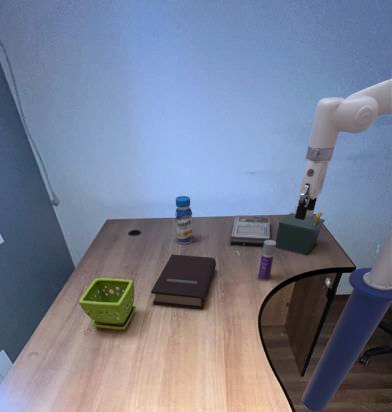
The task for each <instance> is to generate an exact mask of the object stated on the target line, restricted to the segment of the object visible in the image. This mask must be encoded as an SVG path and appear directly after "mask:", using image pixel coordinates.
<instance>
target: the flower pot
mask: <svg viewBox="0 0 392 412" xmlns="http://www.w3.org/2000/svg"><path fill="white" fill-rule="evenodd" d="M117 288H118V289H117ZM110 290H111V291H113V293H111V291H110ZM134 303H135V283H134V281H133V279H125V278H110V277H109V278H106V277H97V278H95V279H94V280H93V281H92V282H91V283H90V285H89V286H88V287H87V289H86V290H85V291H84V293H83V294H82V296H81V297H80V299H79V301H78V304H79V306H80V308H81V309H82V310H83V312H84V313H85V314H86V316H88V317H89V318H90V320H93V322H92V323H91V326H93V327H94V328H95V327H96V328H99V329H100V328H101V329H110V330H120V331H125V330H126V328H127V327H128V324H129V323H130V321H131V319H132V317H133V315H134V313H135V311H136V308H137V306H136V305H134Z"/></svg>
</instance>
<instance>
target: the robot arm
mask: <svg viewBox="0 0 392 412" xmlns="http://www.w3.org/2000/svg"><path fill="white" fill-rule="evenodd" d="M390 114H392V78H389V79H387V80H384V81H381V82H379V83H376V84H374V85H370V86H368V87H366V88H363V89H361V90H359V91H356V92H354V93H352V94H350V95H348V96H347V97H346V98H344V97H341V96H340V97H339V96H335V97H334V96H332V97H324V98H321V99H319V101H318V102H317V104H316V108H315V111H314V116H313V121H312V125H311V130H310V135H309V139H308V143H307V148H306V152H305V156H304V157H305V158H304V161H306V166H305V168H304V173H303V176H302V180H301V183H300V184H301V185H300V189H299V195H298V197H299V199H298V203H297V205H296V206H297V211H296V215H295V218H296V219H301V220H304V219H305V216H306V212H307V210H312V211H313V210H314V211H315V209H316V203H317V201H318V200H317V199H318V196H319V195H320V194H321V193H322V192H323V188H324V184H325V181H326V180H325V179H326V176H327V172H328V168H329V167H328V166H329V162H331V161H332V158H333V154H334V150H335V148H336V143H337V140H338V137H339V133H341V132H342V133H349V134H360V133H363V132H365V131H367V130H368V129H369V128H371V126H373V125H374V123H375V121H376V120H377V118H378V117H381V116H385V115H390ZM314 208H315V209H314ZM383 243H384V244H383V245H382V248H381V250H380V252H379V254H378V256H377V257H376V259H375V262H374V263H373V265H372V267H371V268H372V269H371V271H370V272H368V273H366V274H365V275H364V276H363V281H364V282H365V283H366V284H367V285H368V286H370V287H372V288H375V289H379V290H392V228H390V232H389V233H388V235H387V237H386V240H385V241H384V242H383Z"/></svg>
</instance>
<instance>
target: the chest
mask: <svg viewBox="0 0 392 412" xmlns="http://www.w3.org/2000/svg"><path fill="white" fill-rule="evenodd" d="M321 229H322V225H321V226H320V227H319V228H318V229H317V230H316V231H315V232H313V231H308V230H304V229H299V228H295V227H291V226H286V225H282V224H279V223H278V227H277V233H276V238H275V242H276V247H275V248H278V249H282V250H285V251H289V252H293V253H296V254H301V255H305V256H307V254H309V252H310V251H311V250H312V249H313V248H314V247H315V246H316V244H317V241H318V238H319V234H320V232H321Z"/></svg>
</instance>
